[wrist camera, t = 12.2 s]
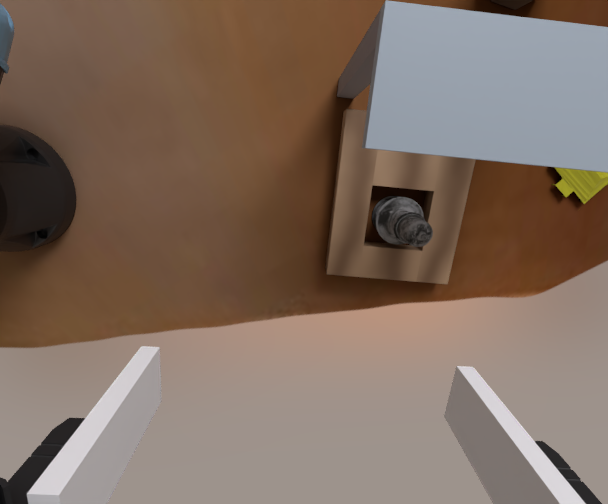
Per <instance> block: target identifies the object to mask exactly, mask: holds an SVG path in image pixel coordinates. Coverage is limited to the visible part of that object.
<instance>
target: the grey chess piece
mask: <svg viewBox="0 0 608 504" xmlns="http://www.w3.org/2000/svg"><path fill="white" fill-rule="evenodd" d="M372 221H373V224H374V226H375V228H376V229H377V231H378V233H379V235H380V236H381V237H382V238H383V239H384V240H385V241H387V242H388V243H392V244H404V243H408V244H410V245H411V246H414V247H422V246H424V245H426V244H428V243H429V242H430V240H431V239H432V236H433V230H432V227H431V226H430V224H429V223H427V222H426V221H425V219H424V215H423V211H422V209H421V207H420V206H419V204H418V203H417V202H415V201H414V200H413V199H410V198H407V197H399V196H388V197H385V198H383V199H381V200H380V201H379V202H378V203H377V204H376V206H375V207H374V210H373V212H372Z"/></svg>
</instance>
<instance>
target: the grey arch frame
mask: <svg viewBox="0 0 608 504" xmlns="http://www.w3.org/2000/svg"><path fill="white" fill-rule="evenodd" d="M370 83H371V84H370ZM369 84H370V92H369V99H368V107H367V114H366V121H365V129H364V136H363V143H362V148H366V149H376V150H386V151H396V152H406V153H416V154H426V155H436V156H446V157H456V158H466V159H476V160H486V161H496V162H506V163H516V164H526V165H536V166H546V167H556V168H566V169H576V170H586V171H596V172H606V173H608V27H601V26H593V25H585V24H576V23H568V22H560V21H552V20H543V19H535V18H527V17H519V16H510V15H502V14H494V13H486V12H477V11H469V10H461V9H453V8H444V7H436V6H428V5H420V4H411V3H403V2H395V1H387V0H386V1H385V3H384V4H383V6H382V8H381V9H380V11H379V13H378V14H377V16H376V18H375V19H374V21H373V23H372V24H371V26H370V28H369V29H368V31H367V33H366V34H365V36H364V38H363V39H362V41H361V43H360V44H359V46H358V48H357V49H356V51H355V53H354V54H353V56H352V58H351V59H350V61H349V63H348V64H347V66H346V68H345V69H344V71H343V73H342V74H341V76H340V78H339V84H338V92H337V97H342V98H352V99H354V98H355V97H356V96H357V95H358V94H359V93H360V92H362V91H363V90H364V89H365V88H366V87H367V86H368V85H369Z"/></svg>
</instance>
